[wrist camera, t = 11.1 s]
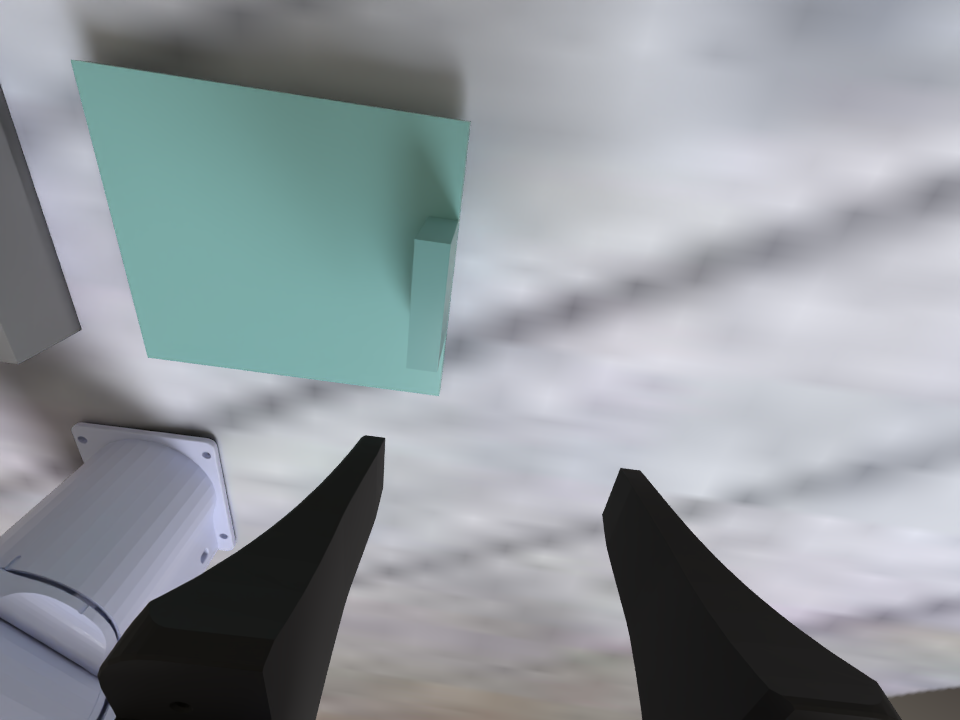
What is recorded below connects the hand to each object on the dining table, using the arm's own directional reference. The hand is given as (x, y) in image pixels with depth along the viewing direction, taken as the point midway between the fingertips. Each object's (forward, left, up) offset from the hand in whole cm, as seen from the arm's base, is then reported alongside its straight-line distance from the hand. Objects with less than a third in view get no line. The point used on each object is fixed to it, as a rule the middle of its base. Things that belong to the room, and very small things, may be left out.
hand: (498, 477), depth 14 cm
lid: (+3, +10, -9) cm, 13 cm away
